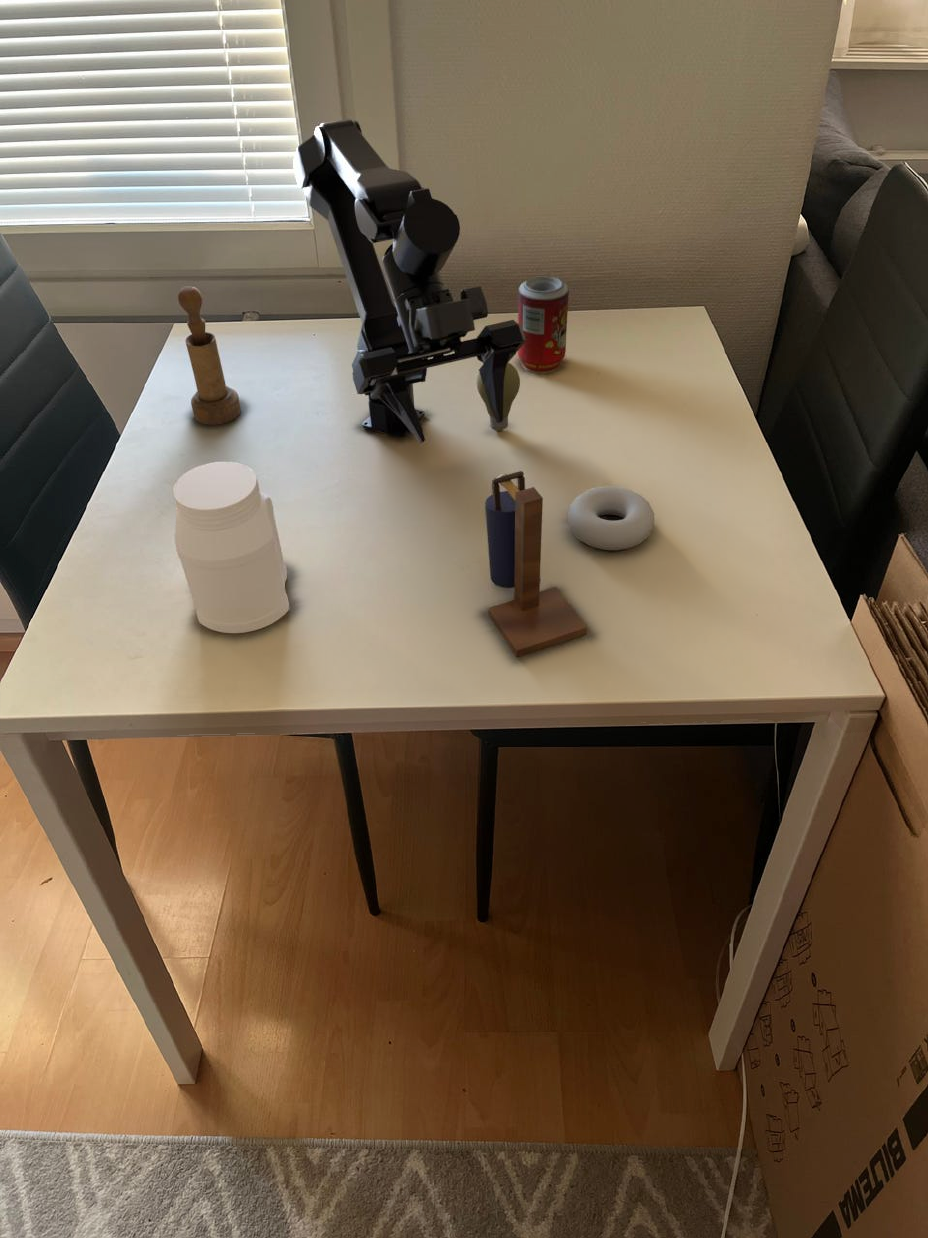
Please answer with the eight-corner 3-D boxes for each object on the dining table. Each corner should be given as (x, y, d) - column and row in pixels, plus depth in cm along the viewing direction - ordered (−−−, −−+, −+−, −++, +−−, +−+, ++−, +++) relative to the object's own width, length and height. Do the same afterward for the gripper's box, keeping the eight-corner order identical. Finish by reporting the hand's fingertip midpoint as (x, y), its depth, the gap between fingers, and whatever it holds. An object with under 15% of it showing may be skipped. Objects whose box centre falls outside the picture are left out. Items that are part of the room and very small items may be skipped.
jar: (290, 626, 98) (265, 513, 87) (198, 640, 97) (162, 526, 86) (286, 558, 106) (262, 447, 95) (201, 569, 105) (168, 458, 94)
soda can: (559, 377, 134) (563, 296, 125) (512, 372, 135) (512, 291, 127) (569, 354, 138) (573, 274, 130) (523, 350, 140) (524, 270, 132)
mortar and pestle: (230, 426, 127) (200, 301, 114) (186, 423, 128) (152, 297, 115) (248, 402, 131) (221, 278, 119) (205, 398, 132) (174, 275, 120)
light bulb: (471, 437, 123) (469, 368, 116) (486, 416, 127) (485, 348, 120) (511, 444, 121) (511, 375, 114) (525, 423, 125) (526, 355, 118)
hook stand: (469, 585, 102) (465, 471, 91) (534, 565, 104) (537, 451, 93) (516, 657, 93) (518, 541, 83) (586, 634, 95) (596, 518, 85)
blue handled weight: (484, 572, 101) (475, 468, 93) (520, 561, 102) (515, 457, 95) (500, 592, 98) (493, 486, 90) (538, 581, 99) (534, 475, 91)
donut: (643, 564, 103) (660, 511, 110) (646, 540, 101) (663, 487, 108) (557, 547, 106) (578, 496, 113) (558, 524, 103) (579, 473, 110)
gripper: (347, 280, 90) (395, 432, 91) (519, 245, 95) (564, 389, 96) (334, 323, 101) (376, 459, 101) (489, 289, 106) (529, 419, 106)
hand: (462, 431), depth 101 cm, fingers open, 9 cm apart
